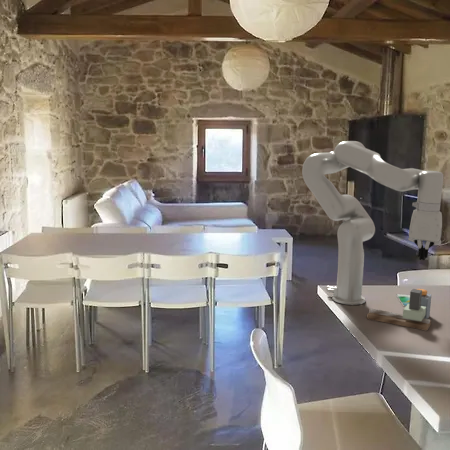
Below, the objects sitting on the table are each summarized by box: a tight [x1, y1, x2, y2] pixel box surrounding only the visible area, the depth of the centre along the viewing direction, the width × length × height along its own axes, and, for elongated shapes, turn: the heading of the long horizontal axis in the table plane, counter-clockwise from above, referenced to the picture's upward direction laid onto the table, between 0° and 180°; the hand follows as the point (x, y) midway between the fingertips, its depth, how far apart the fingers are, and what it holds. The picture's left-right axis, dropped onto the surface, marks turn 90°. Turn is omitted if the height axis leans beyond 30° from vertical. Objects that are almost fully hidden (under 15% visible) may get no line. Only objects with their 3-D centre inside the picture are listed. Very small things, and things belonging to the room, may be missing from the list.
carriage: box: [402, 288, 426, 321], centre depth 179 cm, size 6×7×9 cm
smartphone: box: [395, 293, 410, 308], centre depth 205 cm, size 7×1×15 cm
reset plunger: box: [417, 288, 428, 297], centre depth 187 cm, size 4×4×5 cm
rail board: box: [366, 308, 432, 332], centre depth 183 cm, size 20×7×2 cm, turn 59°
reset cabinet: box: [421, 293, 432, 319], centre depth 187 cm, size 6×6×8 cm
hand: (422, 259), depth 184 cm, fingers closed
